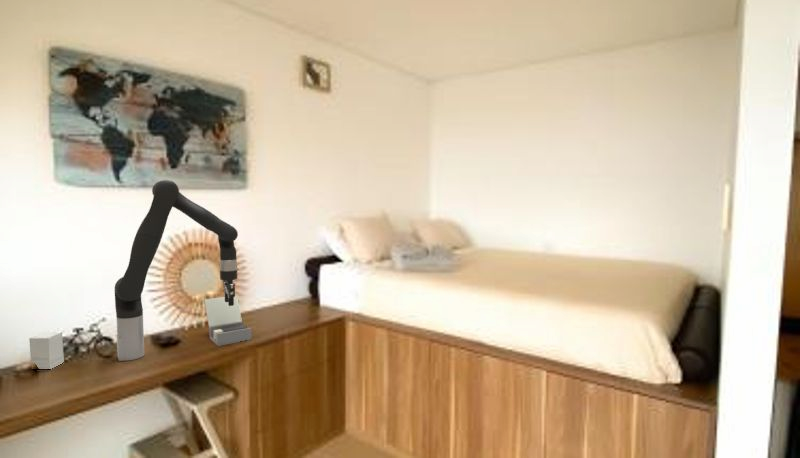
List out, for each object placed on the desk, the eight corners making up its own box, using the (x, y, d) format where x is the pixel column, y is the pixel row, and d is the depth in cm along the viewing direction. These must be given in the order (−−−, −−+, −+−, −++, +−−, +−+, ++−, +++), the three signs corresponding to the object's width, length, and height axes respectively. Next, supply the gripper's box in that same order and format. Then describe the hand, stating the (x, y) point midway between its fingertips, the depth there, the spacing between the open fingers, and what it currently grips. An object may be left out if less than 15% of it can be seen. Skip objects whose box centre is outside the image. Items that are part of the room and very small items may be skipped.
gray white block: (247, 335, 207) (247, 327, 206) (216, 341, 198) (215, 332, 198) (244, 333, 210) (244, 325, 210) (213, 339, 201) (213, 330, 201)
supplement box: (64, 363, 173) (63, 331, 173) (49, 370, 166) (48, 338, 165) (46, 363, 173) (44, 331, 173) (30, 370, 166) (28, 337, 165)
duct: (217, 346, 194) (217, 334, 194) (209, 338, 205) (209, 326, 204) (251, 339, 203) (251, 328, 203) (242, 332, 214) (241, 321, 214)
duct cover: (205, 299, 209) (204, 300, 210) (209, 326, 204) (208, 327, 205) (237, 295, 218) (236, 295, 219) (241, 321, 214) (241, 321, 214)
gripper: (240, 270, 198) (241, 306, 199) (233, 266, 210) (234, 299, 211) (222, 272, 194) (223, 308, 195) (217, 267, 206) (217, 301, 207)
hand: (229, 303), depth 203 cm, fingers open, 8 cm apart
